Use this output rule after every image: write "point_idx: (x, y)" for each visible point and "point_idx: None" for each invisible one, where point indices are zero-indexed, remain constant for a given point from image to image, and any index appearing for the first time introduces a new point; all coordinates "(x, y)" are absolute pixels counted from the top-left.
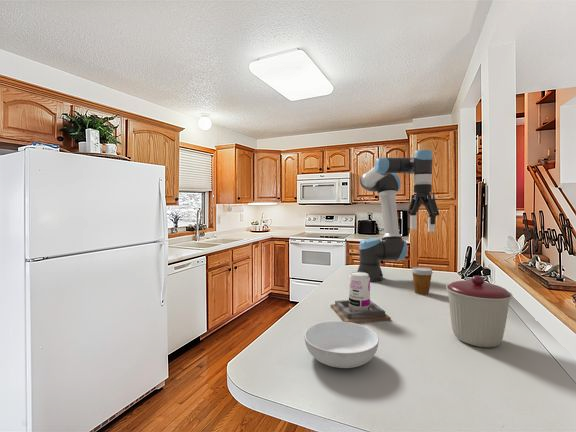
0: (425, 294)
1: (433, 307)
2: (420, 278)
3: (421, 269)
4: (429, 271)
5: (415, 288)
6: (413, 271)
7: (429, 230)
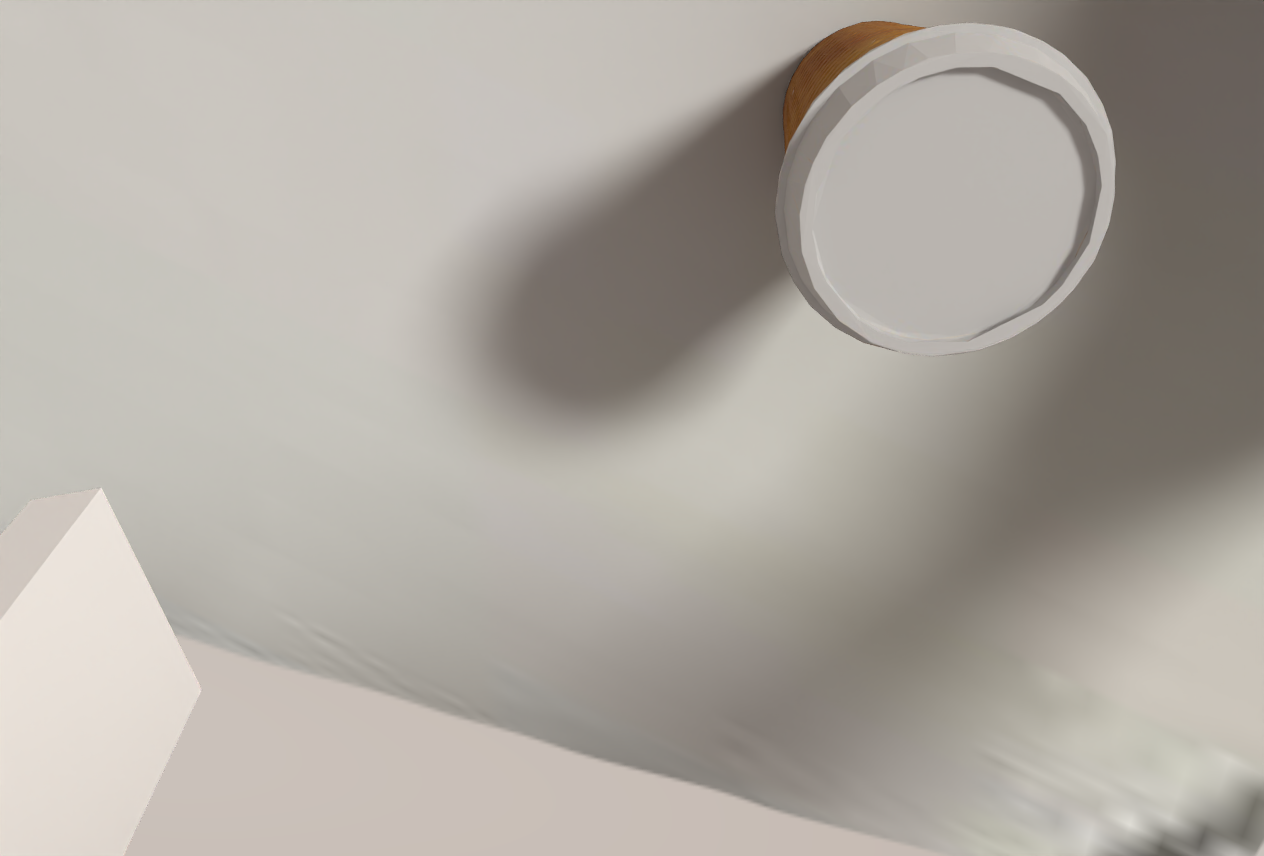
0: (783, 127)
1: (299, 11)
2: (811, 102)
3: (957, 203)
4: (804, 275)
5: (869, 26)
6: (937, 36)
7: (5, 545)
